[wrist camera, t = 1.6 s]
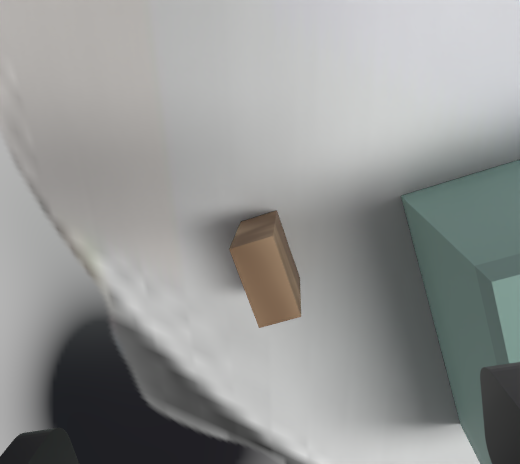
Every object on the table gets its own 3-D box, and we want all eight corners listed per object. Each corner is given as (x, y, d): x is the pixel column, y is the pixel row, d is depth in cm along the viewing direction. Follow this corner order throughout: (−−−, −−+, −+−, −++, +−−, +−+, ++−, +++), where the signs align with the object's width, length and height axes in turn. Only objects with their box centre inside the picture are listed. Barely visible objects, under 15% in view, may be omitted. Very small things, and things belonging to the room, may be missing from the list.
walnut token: (276, 210, 29) (272, 235, 24) (299, 278, 30) (301, 316, 25) (240, 221, 29) (229, 249, 24) (265, 288, 31) (259, 328, 25)
